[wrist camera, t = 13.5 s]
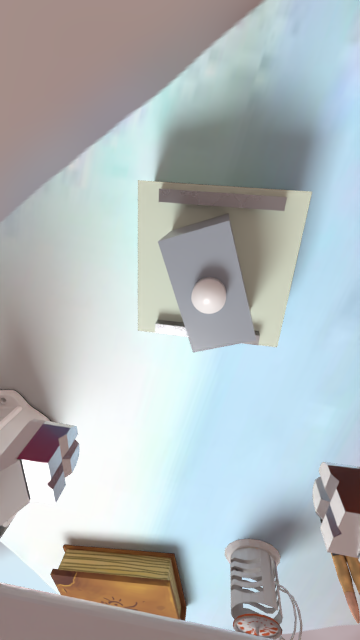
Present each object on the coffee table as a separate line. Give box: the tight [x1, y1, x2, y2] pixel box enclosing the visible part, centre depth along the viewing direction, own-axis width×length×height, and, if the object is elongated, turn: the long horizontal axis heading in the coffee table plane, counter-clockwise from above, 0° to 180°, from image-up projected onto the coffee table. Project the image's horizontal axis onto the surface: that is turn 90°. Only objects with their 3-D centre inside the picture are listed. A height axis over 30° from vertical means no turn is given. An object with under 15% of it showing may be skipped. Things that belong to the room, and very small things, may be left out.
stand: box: [138, 180, 312, 347], centre depth 29 cm, size 14×14×7 cm
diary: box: [50, 545, 186, 621], centre depth 60 cm, size 23×19×6 cm
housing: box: [158, 213, 256, 352], centre depth 24 cm, size 9×5×7 cm, turn 17°
